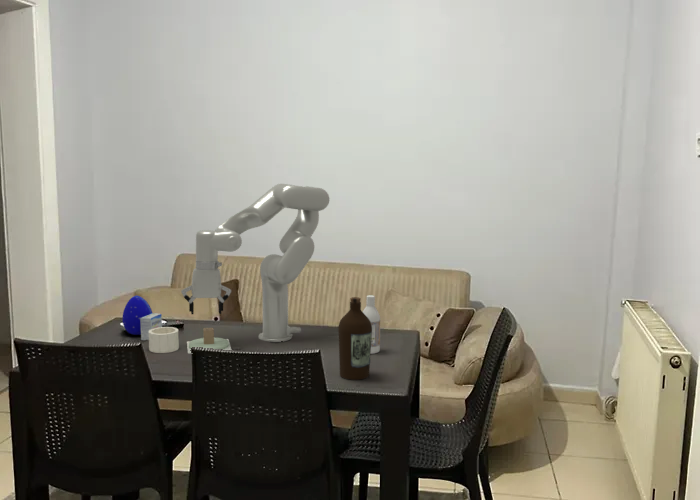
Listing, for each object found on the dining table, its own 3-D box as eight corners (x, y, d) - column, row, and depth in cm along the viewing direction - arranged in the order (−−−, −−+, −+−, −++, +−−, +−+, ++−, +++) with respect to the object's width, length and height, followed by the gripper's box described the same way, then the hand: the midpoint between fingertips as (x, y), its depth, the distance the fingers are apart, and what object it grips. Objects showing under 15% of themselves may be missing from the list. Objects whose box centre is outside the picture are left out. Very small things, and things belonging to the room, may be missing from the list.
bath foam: (382, 353, 246) (383, 297, 243) (363, 354, 244) (363, 298, 241) (376, 348, 252) (377, 293, 249) (357, 349, 251) (358, 294, 248)
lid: (227, 339, 259) (226, 323, 258) (230, 350, 246) (230, 333, 245) (188, 341, 256) (187, 325, 255) (189, 352, 242) (189, 335, 241)
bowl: (178, 345, 253) (177, 326, 252) (178, 353, 243) (178, 333, 242) (149, 346, 250) (149, 327, 249) (149, 355, 241) (148, 335, 240)
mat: (228, 340, 260) (228, 339, 260) (231, 352, 245) (231, 350, 245) (186, 342, 256) (186, 341, 256) (188, 354, 242) (188, 353, 242)
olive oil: (331, 372, 224) (332, 296, 221) (360, 368, 230) (361, 293, 226) (348, 382, 215) (349, 303, 211) (377, 377, 220) (378, 299, 217)
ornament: (156, 331, 271) (155, 293, 269) (147, 338, 262) (146, 298, 259) (128, 330, 272) (126, 292, 269) (118, 337, 263) (117, 298, 260)
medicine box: (151, 341, 258) (150, 318, 256) (140, 340, 259) (140, 317, 257) (162, 335, 265) (161, 313, 264) (151, 334, 266) (151, 312, 265)
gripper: (230, 263, 252) (229, 310, 254) (181, 264, 248) (180, 311, 250) (232, 267, 245) (231, 315, 247) (181, 267, 240) (181, 316, 243)
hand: (206, 313), depth 249 cm, fingers open, 9 cm apart
